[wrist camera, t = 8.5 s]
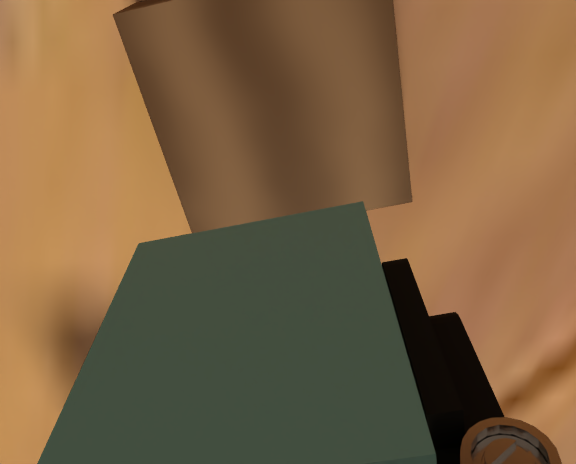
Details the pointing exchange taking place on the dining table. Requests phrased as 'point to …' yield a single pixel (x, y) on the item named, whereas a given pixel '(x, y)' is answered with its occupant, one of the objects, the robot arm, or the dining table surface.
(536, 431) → the robot arm
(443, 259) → the dining table surface
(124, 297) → the teal block
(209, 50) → the walnut block
